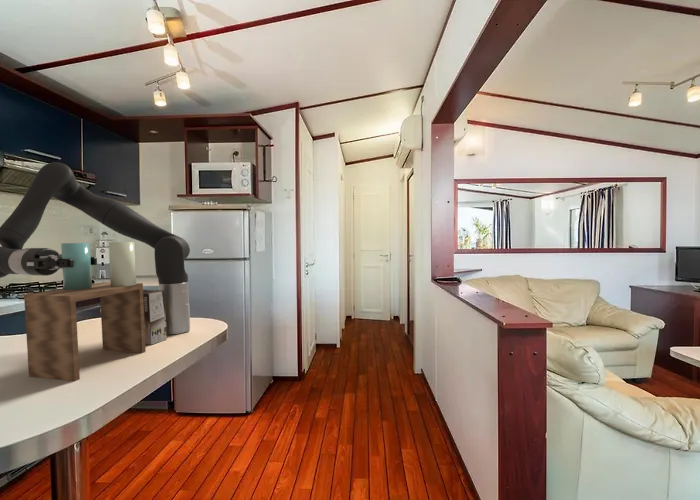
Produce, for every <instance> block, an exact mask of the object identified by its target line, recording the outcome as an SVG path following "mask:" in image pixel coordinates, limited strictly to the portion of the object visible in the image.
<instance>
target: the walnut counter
mask: <svg viewBox="0 0 700 500" xmlns="http://www.w3.org/2000/svg"><path fill="white" fill-rule="evenodd" d="M143 290H144V285H143V282H141V283H140V282H136V285H132V286H123V287H111V282H105V281H103V282H96V283H92V287H91V288H87V289H78V290H64V288H57V289H52V290H45V291H39V292H33V293H25V294H24V295H23V298H24V299H23V300H24V301H23V302H24V315H25V318H24V319H25V332H26V350H27V367H28V377H30V378H32V377H33V378H41V379H42V378H43V379H50V380H60V381H70V382H76V381H78V380H80V375H81V374H80V356H79V341H78V336H79V335H78V322H77V321H78V319H77V318H78V317H77V302H82V301H86V300H90V299H91V300H93V299H96V298H100V299H99V300H100V319H101V321H100V323H101V338H102V339H101V341H102V343H101V344H102V350H103V351H112V352H113V351H114V352H127V353H136V354H137V353H139V354H143V353H146V350H147V349H146V344H145V324H144V301H143Z"/></svg>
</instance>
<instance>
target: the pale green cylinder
mask: <svg viewBox="0 0 700 500" xmlns="http://www.w3.org/2000/svg"><path fill="white" fill-rule="evenodd" d="M135 246H136V245H135V241H112V242H111V241H110V242H108V251H109V254H108V255H109V256H108V257H109V277H110V278H109V279H110V283H111V287H123V286H132V285H136V283H137V274H136V273H137V270H136V269H137V267H136V251H135V250H136V247H135Z"/></svg>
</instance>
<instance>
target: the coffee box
mask: <svg viewBox="0 0 700 500" xmlns="http://www.w3.org/2000/svg"><path fill="white" fill-rule="evenodd" d="M143 301H144V324H145V345H154V344H158V343H161V342H164V341H167V340H168V337H167V336H168V335H167V330H166V306H165V290H159V289H143Z"/></svg>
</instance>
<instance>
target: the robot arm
mask: <svg viewBox="0 0 700 500" xmlns="http://www.w3.org/2000/svg"><path fill="white" fill-rule="evenodd" d="M52 198H54V199H56V200H58V201H60V202H63V203H65V204H68V205H69V206H71V207H74V208H75V209H77V210H79V211H81V212H83V213H85V214H86V215H87V216H88V217H90V218H92V219H94V220H95V221H97V222H99V223H100V224H101V225H103V226H105V227H107V228H109V229H111V230H112V231H114V232H116V233H117V234H119V235H123V236H125V237H127V238H131V239H133V240H136V241H139V242H142V243H143V244H146V245H148V246H149V247H151V248H153V249H154V267H155V274H156V277H157V280H158V290H165V306H166V330H167V336H168V335H169V336H170V335H177V334H183V333H187V332H188V333H189V332H190V330H191V313H190V312H191V310H190V301H189V300H190V299H189V295H190V294H189V275H188V273H187V272H186V269H185V260H186V259H187V258H188V257H189V256H190V250H191V249H190V245H189V243H188V241H186V239H184V238H183V237H180V236H179V235H176V234H174V233H171V232H170V231H167V230H165V229H163V228H162V227H160V226H158V225H156V224H155V223H153V222H152V221H151V220H149V219H147V218H146V217H144V216H143V215H141V214H140V213H139V212H137V211H135V210H134V209H132V208H131V207H129V206H127V205H125V204H124V203H122V202H121V201H118V200H116V199H113V198H109V197H104V196H101V195H98V194H95V193H93V192H91V191H90V190H89V189H87V188H85V187H84V186H82V185H81V184H80V183H79V182H78V181H77V179H76V176H75V174H74V172H73V170H72V169H71V168H70V166H68V165H67V164H65V163H62V162H57V161H55V162H49V163H46V164H44V165H43V166H42V167H40V169H39V171H38V172H37V173H36V175H35V177H34V179H33V181H32V182H31V184H30V186H29V188H28V189H27V191H26V192H25V194H24V195H23V198H22V199H21V201H20V202H19V203H18V205H17V206H16V208H15V209H14V210H13V212H12V213H11V214H10V215H9V216H8V218H6V220H5V221H4V222H3V223H2V225H0V279H1V278H4V277H6V276H9V275H24V276H42V277H43V276H51V275H54V274H56V273H57V272H58V271H59V270H63V267H67V268H69V267H73V259H62V253H59V252H58V251H57V250H55V249H53V248H50V247H27V248H24V246H25V244H26V243H27V241H28V240H29V239H30V238H31V236H33V234H34V233H35V231H36V230H37V228H38V227H39V226H40V223H41V220H42V218H43V217H44V214H45V213H44V212H45V211H46V208H47V206H48V204H49V203H50V201H51V199H52ZM97 264H98V258H97V256H91V266H96V265H97Z"/></svg>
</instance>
